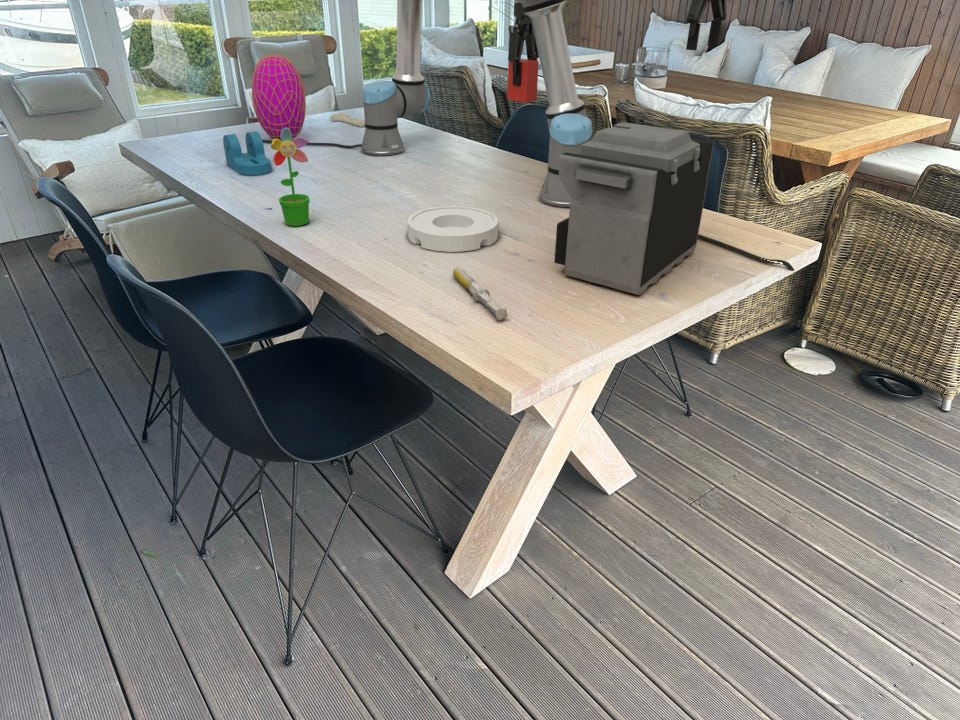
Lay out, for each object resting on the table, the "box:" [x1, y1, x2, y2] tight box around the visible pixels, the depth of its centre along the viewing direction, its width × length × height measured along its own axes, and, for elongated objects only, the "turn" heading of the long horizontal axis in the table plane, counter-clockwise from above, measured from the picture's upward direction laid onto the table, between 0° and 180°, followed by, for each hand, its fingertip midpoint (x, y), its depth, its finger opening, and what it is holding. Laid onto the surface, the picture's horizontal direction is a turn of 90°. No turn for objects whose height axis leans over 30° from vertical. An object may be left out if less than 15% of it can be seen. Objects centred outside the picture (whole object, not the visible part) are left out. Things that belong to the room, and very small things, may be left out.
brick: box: [506, 58, 540, 104], centre depth 218 cm, size 6×8×12 cm
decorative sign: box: [330, 112, 365, 128], centre depth 295 cm, size 26×1×10 cm
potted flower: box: [270, 128, 310, 227], centre depth 177 cm, size 9×8×25 cm
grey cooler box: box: [554, 121, 715, 296], centre depth 154 cm, size 37×22×30 cm, turn 144°
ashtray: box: [407, 205, 499, 253], centre depth 175 cm, size 23×23×4 cm
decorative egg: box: [251, 54, 307, 141], centre depth 257 cm, size 19×19×30 cm
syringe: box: [452, 266, 509, 321], centre depth 145 cm, size 25×4×3 cm, turn 21°
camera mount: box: [222, 131, 272, 176], centre depth 226 cm, size 18×10×10 cm, turn 35°
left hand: (522, 84), depth 218 cm, fingers closed on brick, 6 cm apart
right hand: (702, 48), depth 191 cm, fingers open, 13 cm apart
